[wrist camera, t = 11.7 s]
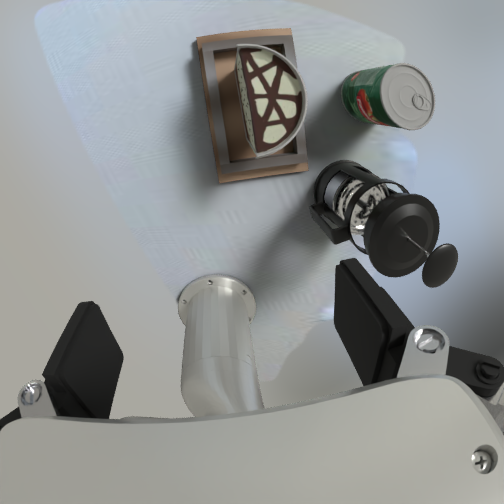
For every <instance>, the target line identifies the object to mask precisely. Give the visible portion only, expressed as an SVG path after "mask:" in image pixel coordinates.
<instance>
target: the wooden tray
mask: <svg viewBox="0 0 504 504" xmlns="http://www.w3.org/2000/svg"><path fill="white" fill-rule="evenodd" d="M196 38H197V45H198V52H199V59H200V66H201V72H202V79H203V86H204V92H205V99H206V105H207V112H208V118H209V124H210V131H211V137H212V143H213V149H214V155H215V161H216V167H217V173H218V179H219V183H225V182H231V181H237V180H243V179H250V178H256V177H263V176H270V175H277V174H285V173H293V172H301V171H308V158H307V147H306V137H305V127H304V122H303V124H302V126H301V128H300V130H299V131H298V133H297V134H296V136H295V137H294V138H293V139H292V140H291V141H290V142H289V143H288V144H287V145H286V146H284V147H283V148H282V149H280V150H278V151H277V152H275V153H273V154H270V155H268V156H265V157H262V158H258V159H256V157H257V156H256V154H255V153H254V151H253V149H252V148H251V146H250V144H249V143H248V141H247V139H246V135H245V129H244V123H243V118H242V112H241V106H240V100H239V95H238V89H237V83H236V78H235V72H234V67H235V61H236V54H237V48H238V46H236V45H237V44H255V45H260V46H264V47H267V48H270V49H272V50H275V51H277V52H278V53H280V54H281V55H283V56H284V57H286V58H287V59H288V60H289V61H290V62H291V63H292V64H293V65H294V66H295V67H296V69H297V63H296V56H295V49H294V43H293V37H292V32H291V28H285V29H262V30H249V31H238V32H229V33H222V34H214V35H208V36H202V37H196Z"/></svg>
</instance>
